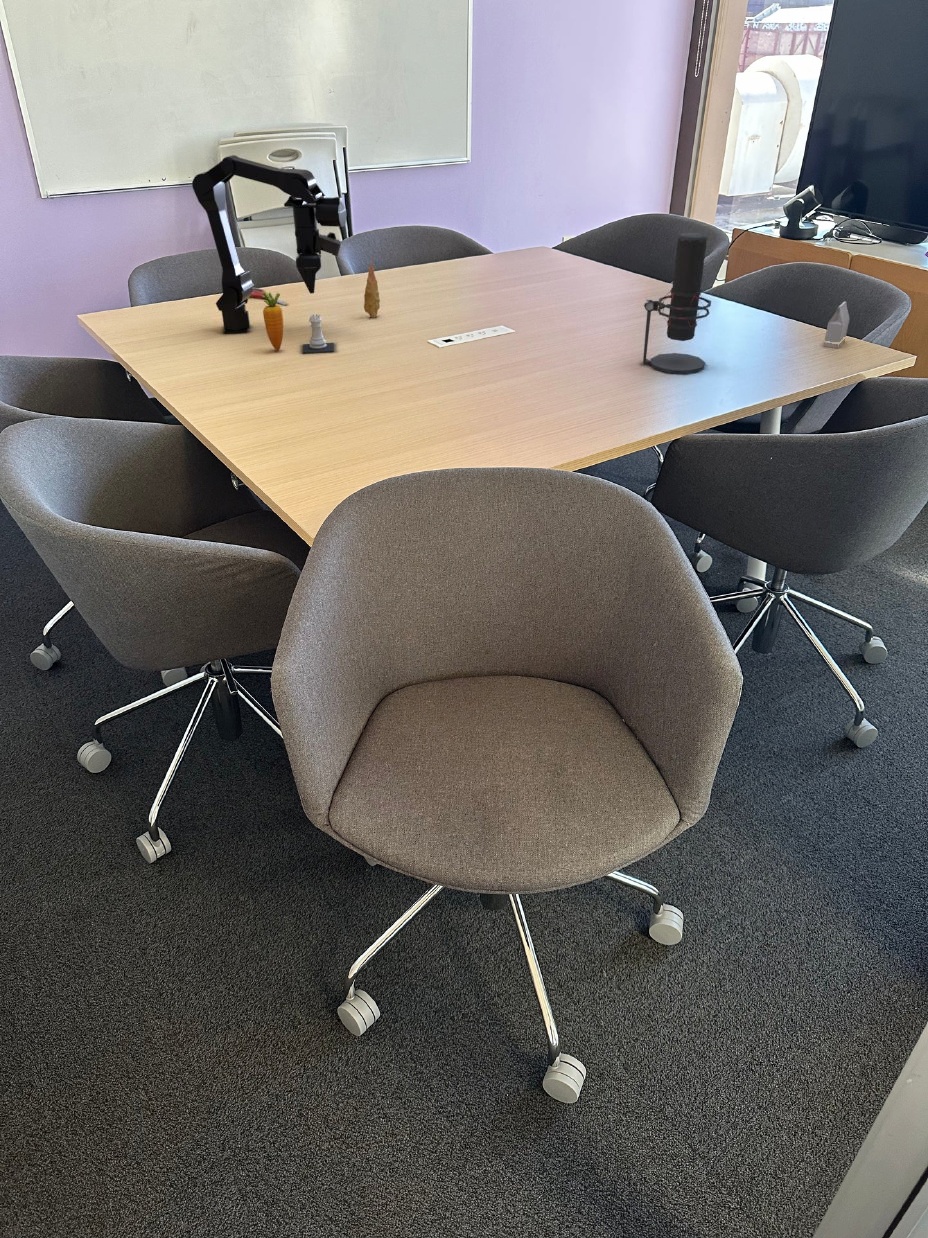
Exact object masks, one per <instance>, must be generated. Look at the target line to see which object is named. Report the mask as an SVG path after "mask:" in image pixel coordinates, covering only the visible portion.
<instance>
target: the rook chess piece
mask: <svg viewBox="0 0 928 1238" xmlns="http://www.w3.org/2000/svg"><path fill="white" fill-rule="evenodd" d="M322 320H323V319H322V317H321V314H312V315H310V316H309V319H308V321H309V322H310V327H311V334H310V335H311V336H310V340H309V343H308V344H310V345H309V346H310V348H312V349H323V348H325V347H326V344H325V343H327V341H326V339H325V336H324V335H323V332H322V324H321V322H322Z"/></svg>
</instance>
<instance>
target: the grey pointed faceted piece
mask: <svg viewBox="0 0 928 1238" xmlns="http://www.w3.org/2000/svg"><path fill="white" fill-rule="evenodd" d="M850 319H851V318H850V314H849V311H848V305H847V301H843V302H842V303H841V304H840V305H839V306H838V307H837V309H836V311H835V312H834V314H833V316H832V317H831V318H830V320H829V321H828V323H827V326H826V331H825V332H826V333H825V335H824V340H825V341H830V342H840V341H841V340H842V339H843V337H847V332H848V329H849V324H850ZM845 342H846V338H845V339H844V340H843V341H842V342H841V343H840V344H839V345H838V344H832V343H825V342H824V341H823V347H826V348H832V349H839V348H840V347H841V346H843V344H844V343H845Z"/></svg>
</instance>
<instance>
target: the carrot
mask: <svg viewBox="0 0 928 1238" xmlns="http://www.w3.org/2000/svg"><path fill="white" fill-rule="evenodd" d="M263 295H264V296H265V298H266V299H265V298H264V299H263V302H264V303H265V304H266V306H264V308H263V309H262V314H263V315H262V316H263V321H264V326H265V330H266V334H267V337H268V340H269V342H270V344H271V345H272V347H273V348H274V350H275V352H279V351H280V349H281V346H282V343H283V339H284V315H283V314H284V313H283V309H282V307H281V306H280V305H278V304H277V300H279V298H280V296H281V293H279V292H277V293H276V294H275V296H273V294H272V292H267V290H265V292H263ZM269 296H270V297H269ZM270 298H271V299H270ZM274 298H275V299H274Z"/></svg>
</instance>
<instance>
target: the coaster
mask: <svg viewBox="0 0 928 1238" xmlns="http://www.w3.org/2000/svg"><path fill="white" fill-rule="evenodd" d="M325 344H326V347H325V348H323V349H312V348H310V346H309V345H310V343H303V344H302V355H305V354H309V355H310V354H325V353H328V354H329V353H335V343H334V342H326V343H325Z"/></svg>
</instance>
